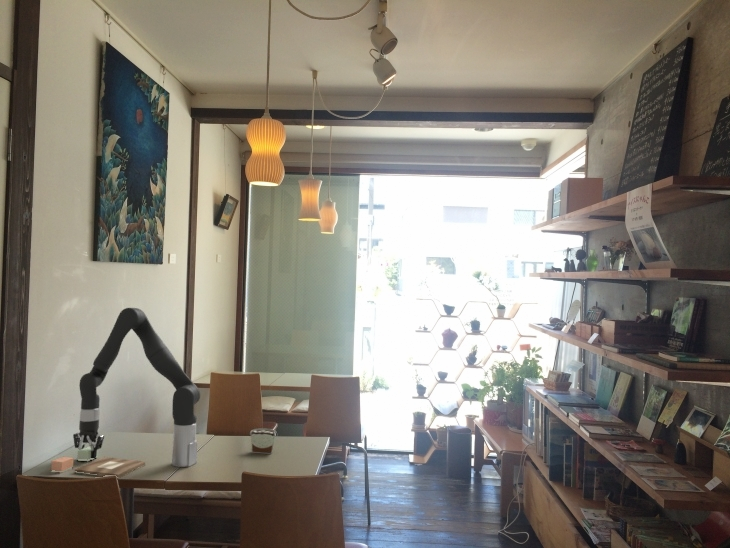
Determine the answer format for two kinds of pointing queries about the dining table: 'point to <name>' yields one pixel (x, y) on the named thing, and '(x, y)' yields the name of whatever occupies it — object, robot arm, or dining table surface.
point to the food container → (262, 440)
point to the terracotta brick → (62, 463)
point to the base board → (110, 466)
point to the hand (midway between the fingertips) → (87, 458)
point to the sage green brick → (85, 453)
